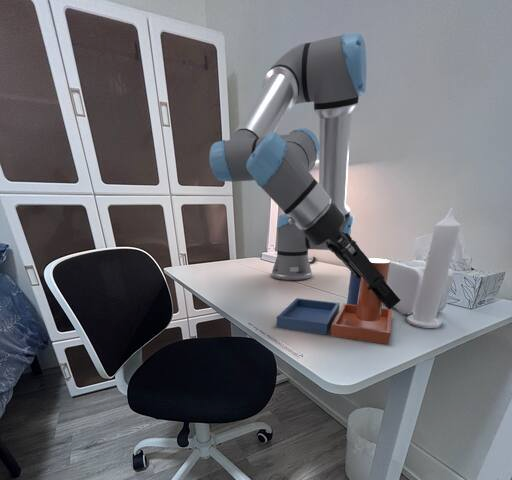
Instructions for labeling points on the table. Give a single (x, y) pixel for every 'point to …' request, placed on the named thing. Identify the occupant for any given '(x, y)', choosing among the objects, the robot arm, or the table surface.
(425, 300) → the candle
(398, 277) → the cable organizer
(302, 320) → the blue tray
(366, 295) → the terracotta pillar
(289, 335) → the table surface
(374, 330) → the terracotta tray
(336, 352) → the table surface
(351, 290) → the blue pillar
